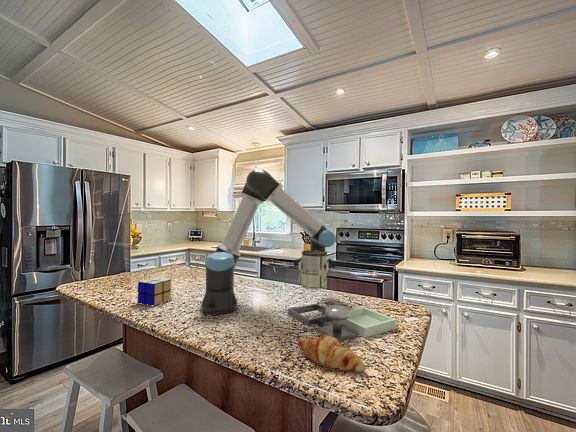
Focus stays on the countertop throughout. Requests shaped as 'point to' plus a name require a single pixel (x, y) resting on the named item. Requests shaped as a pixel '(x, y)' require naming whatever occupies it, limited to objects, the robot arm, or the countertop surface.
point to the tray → (369, 322)
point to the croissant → (331, 353)
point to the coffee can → (314, 269)
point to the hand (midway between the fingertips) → (313, 267)
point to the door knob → (337, 323)
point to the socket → (296, 310)
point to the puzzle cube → (154, 291)
